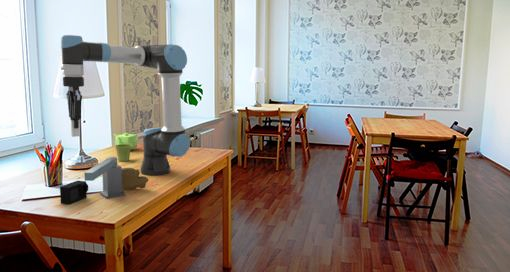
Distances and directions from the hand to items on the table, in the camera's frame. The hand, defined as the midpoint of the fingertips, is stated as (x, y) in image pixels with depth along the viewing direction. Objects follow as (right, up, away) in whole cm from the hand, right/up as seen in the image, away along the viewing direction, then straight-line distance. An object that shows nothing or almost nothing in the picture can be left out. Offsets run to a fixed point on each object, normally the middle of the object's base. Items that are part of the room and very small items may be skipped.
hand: (75, 136), depth 169 cm
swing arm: (+11, -14, -1) cm, 18 cm away
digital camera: (-2, -26, +4) cm, 27 cm away
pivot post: (+10, -25, +13) cm, 30 cm away
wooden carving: (+15, -24, +21) cm, 35 cm away
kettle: (-13, -9, +106) cm, 108 cm away
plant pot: (-5, -14, +77) cm, 79 cm away
